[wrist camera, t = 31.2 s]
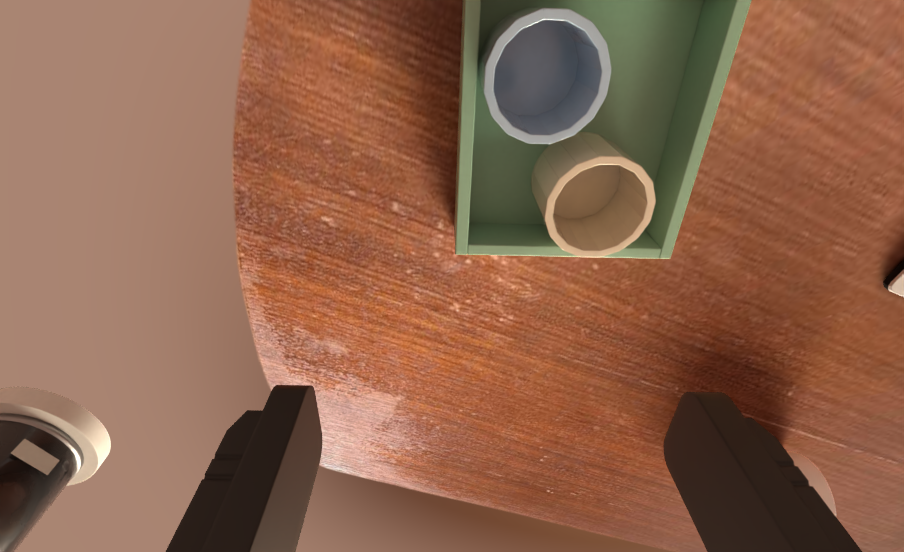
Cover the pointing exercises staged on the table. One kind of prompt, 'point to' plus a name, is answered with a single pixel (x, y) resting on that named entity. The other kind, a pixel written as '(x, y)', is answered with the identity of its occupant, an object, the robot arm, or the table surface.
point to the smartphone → (896, 280)
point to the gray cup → (544, 73)
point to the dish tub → (599, 118)
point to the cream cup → (591, 195)
